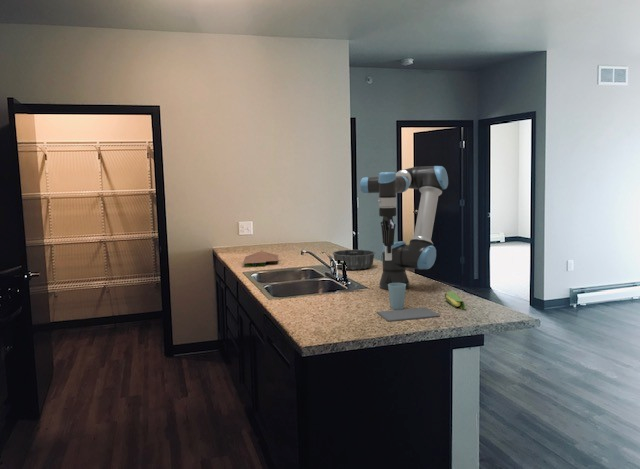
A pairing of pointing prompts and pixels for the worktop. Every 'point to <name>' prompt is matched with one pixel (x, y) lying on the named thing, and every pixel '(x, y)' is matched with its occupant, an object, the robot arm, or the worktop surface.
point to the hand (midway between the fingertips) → (388, 260)
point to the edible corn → (455, 300)
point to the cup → (397, 295)
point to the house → (260, 258)
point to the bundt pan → (355, 258)
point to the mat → (407, 314)
